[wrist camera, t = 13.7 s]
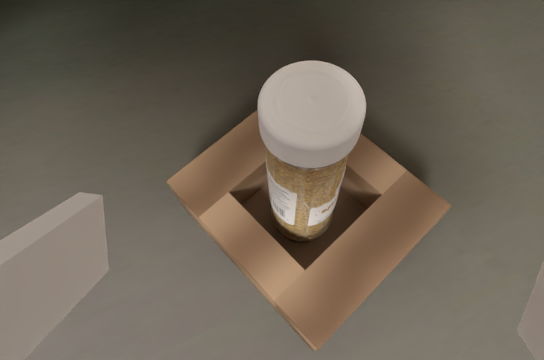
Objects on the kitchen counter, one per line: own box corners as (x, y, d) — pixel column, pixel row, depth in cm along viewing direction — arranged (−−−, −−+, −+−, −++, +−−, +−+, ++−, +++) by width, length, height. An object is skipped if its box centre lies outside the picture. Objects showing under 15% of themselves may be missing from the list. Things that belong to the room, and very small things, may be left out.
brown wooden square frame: (184, 208, 30) (166, 181, 25) (293, 118, 33) (294, 80, 28) (312, 350, 25) (318, 349, 21) (425, 230, 28) (451, 206, 24)
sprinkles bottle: (337, 239, 27) (379, 140, 15) (272, 245, 27) (261, 152, 15) (327, 180, 29) (356, 50, 16) (267, 186, 29) (252, 60, 16)
